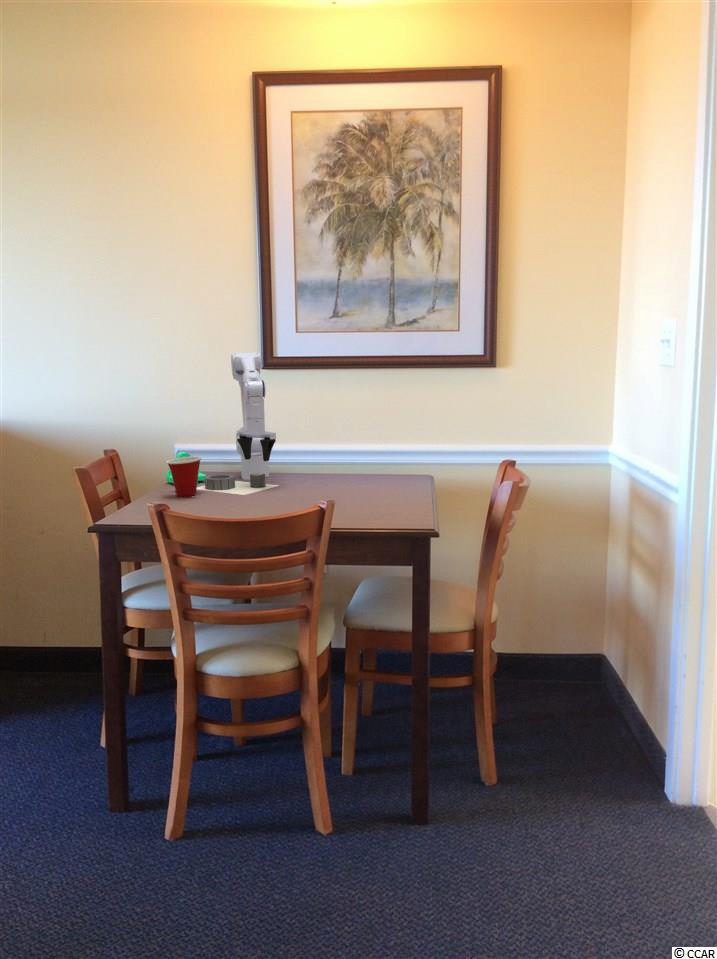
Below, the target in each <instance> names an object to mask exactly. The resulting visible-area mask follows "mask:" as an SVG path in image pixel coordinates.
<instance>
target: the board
mask: <svg viewBox="0 0 717 959" xmlns="http://www.w3.org/2000/svg"><path fill="white" fill-rule="evenodd" d="M279 486H281V485H278V484H269V483H266V487H263V488H251V487H250V481H242V480H236V475H234V474H226V473H225V474H211V475H207V476H206V477H205V480H204V485H201V486H197V489H196V491H197V490H198V491H205V492H206V491H208V492H216V493H221V494H222V493H224V494H232V495H242V496H247V495H250V494H253V493H257V492H260V491H265V490H268V489H272V488H276V487H279Z"/></svg>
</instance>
